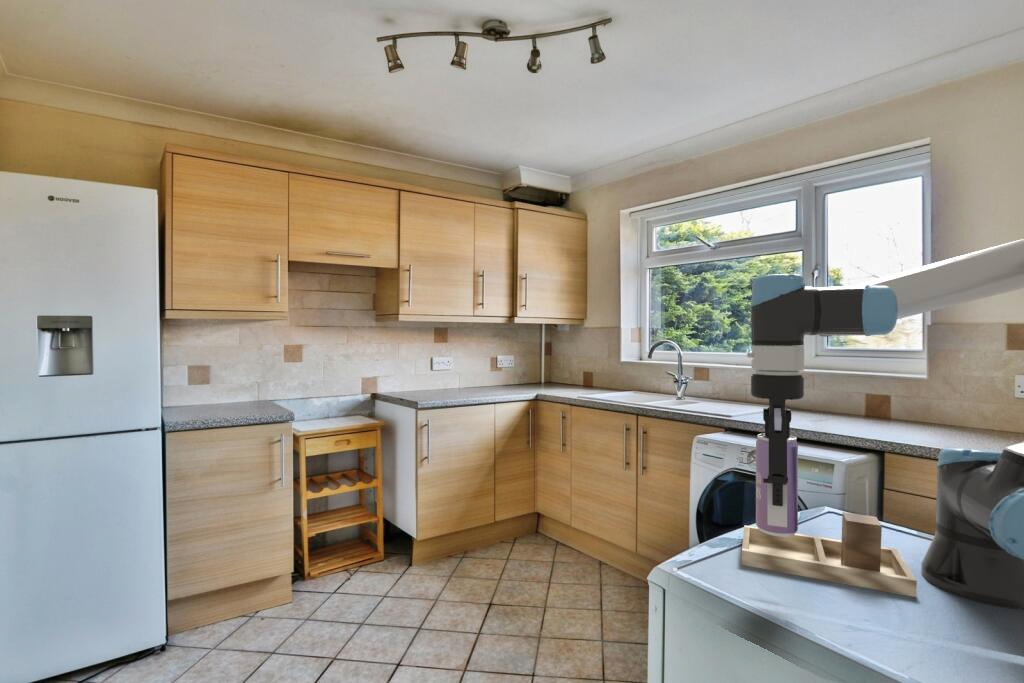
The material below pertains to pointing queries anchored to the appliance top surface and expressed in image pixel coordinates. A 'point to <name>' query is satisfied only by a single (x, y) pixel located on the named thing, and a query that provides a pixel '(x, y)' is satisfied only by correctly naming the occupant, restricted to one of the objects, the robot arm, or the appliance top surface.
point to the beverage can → (762, 488)
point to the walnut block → (861, 542)
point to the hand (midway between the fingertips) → (776, 518)
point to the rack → (824, 561)
